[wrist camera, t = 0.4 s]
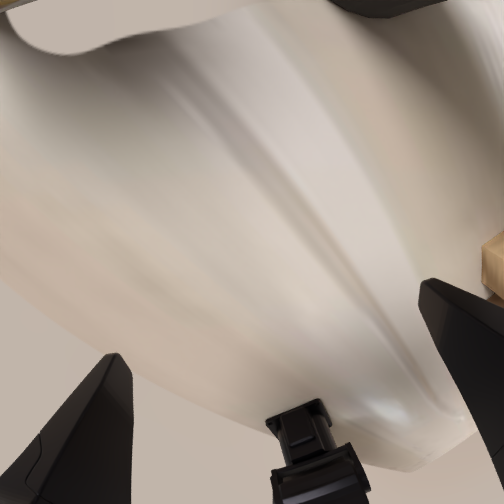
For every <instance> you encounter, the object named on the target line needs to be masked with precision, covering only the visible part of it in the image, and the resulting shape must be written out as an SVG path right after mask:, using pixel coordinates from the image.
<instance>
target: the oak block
mask: <svg viewBox="0 0 504 504" xmlns="http://www.w3.org/2000/svg"><path fill="white" fill-rule="evenodd" d="M481 282H482V283H483V284H485V285H486V286H487V287H488V288H490V289H491V290H492V291H493V292H495V293H496V294H497V295H498V296H500V297H501V298H502V299H503V300H504V231H503V232H501V233H500V234H499V235H497V236H496V237H494V238H493V239H491V240H490V241H488V242H487V243H486V244H484V245H483V246H482V281H481Z"/></svg>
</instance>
